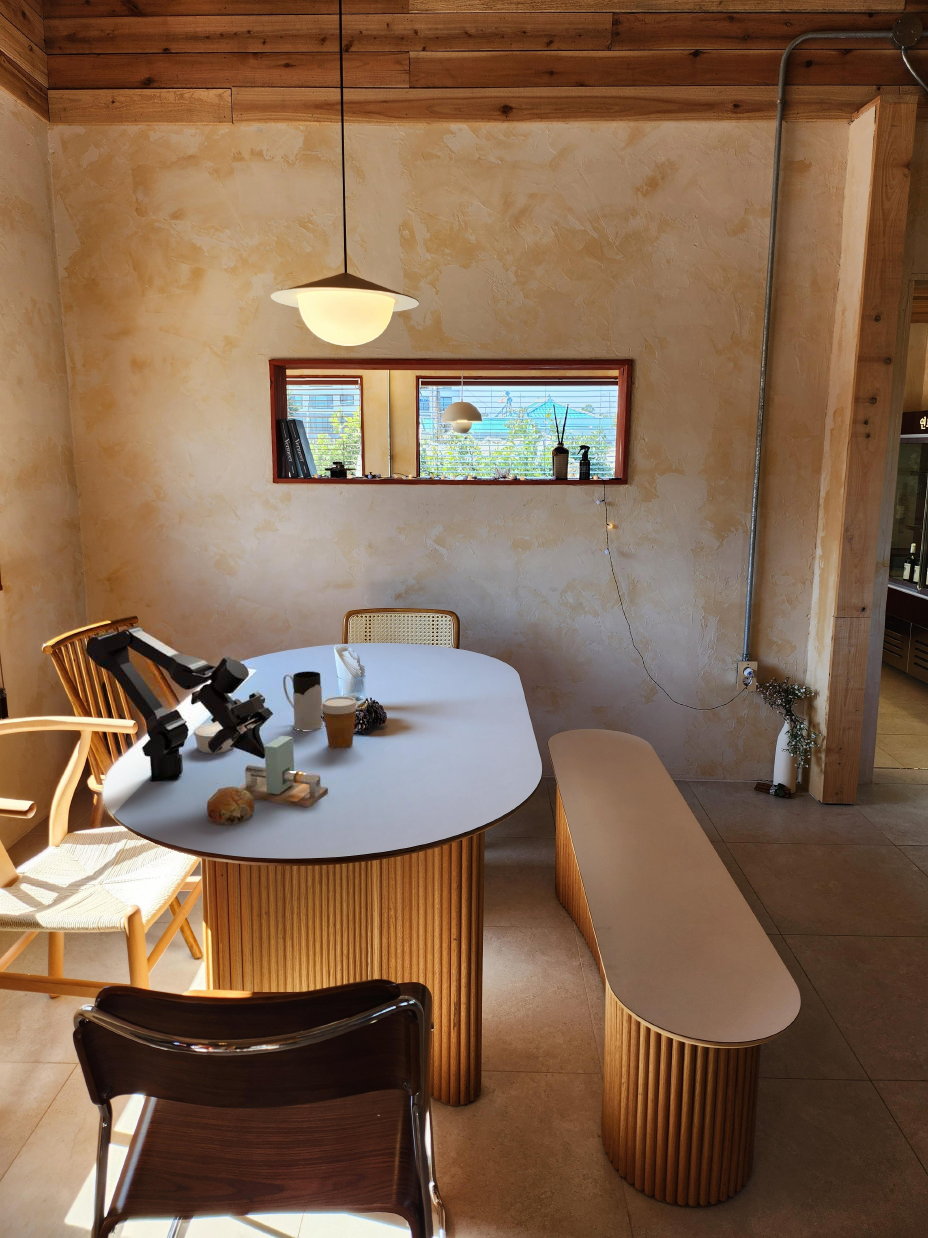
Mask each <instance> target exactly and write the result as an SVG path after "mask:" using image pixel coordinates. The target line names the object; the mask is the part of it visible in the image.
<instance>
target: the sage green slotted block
mask: <svg viewBox="0 0 928 1238" xmlns="http://www.w3.org/2000/svg"><path fill="white" fill-rule="evenodd" d="M264 748H265V758H264V759H265V760H264V763H265V767H266V786H267V793H273V794H280V793H281V792H282V791H284V790H285V789H287V788H288V787H289V786H291V785H292V784H294V782H287V781H283V779H282V772H283V771H284V770H287V771H294V772H295V759H294V756H295V755H294V754H295V753H294V738H293V736H288V735H287V736H286V735H280V736H279V737H276V738H275V739H274V740H272V741H270V742H269V743H267V744H264Z"/></svg>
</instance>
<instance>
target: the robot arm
mask: <svg viewBox="0 0 928 1238" xmlns="http://www.w3.org/2000/svg"><path fill="white" fill-rule="evenodd" d="M129 648H130V649H131V650H133V651H134V652H136V653H137V654H139V655H141V656H143V657H144V658H146V659H147V660H149V661H151V662H153V663H154V664H155V665H157V666H159V667H160V668H162V669H163V670H165V671H166V673H168V675H169V677H170V679H171V680H172V681H173V682H174V683H175V684H176V685H178V687H180V688H181V689H183V690H186V691H188V690H189V691H190V690H193V689H195V688H198V687H200V686H201V687H200V688H199V689H198V690H195V691H192V692H191V700H190V704H191V705H192V706H193V705H195V704H198V703H200V704H202V705H203V707H204V708H205V709H206V710H207V711H208V713H210V715H211V716H212V717H211V719H210V721H211V723H215V722H218V723H219V724H220V725H221V726H222V729H221V730H219V731H218V732H217V733H216V734H215V735H214V736H213V737H212V738H211V739H210V740H209V742H208V748H209V749H210V751H211V752H212V753H211V754H213V755H214V754H217V753H216V752H218V751H220V750H221V749H222V745H223V744H224V742H226V741H228V740H230V739H231V741H232V742H233V744H232V745H231V746H230V747H231V748H232V749H233V748H234V749H237V750H239V751H242V752H246V753H247V754H251V755H253V756H256V757H258V758H259V759H263V760H264V759H265V744H264V743H263V739H262V738H261V737H262V736H261V734H260V729H261V728H262V726H263V725H264V724H265V723H266V722H267V721H268V720H269V719H270V718H271V717H272V716H273V715H274V712H273V711H272V710H271V709H270V708H269V707H265V705H264V704H265V702H266V698H265V697H264V695H262V693H260V692H259V691H258V690H256V691H255V692H252V693H250V694H249V695H248V699H247V700H245V701H243V702H242V701H241V700H240V699H238V698H235V699H233V698H232V697H231V696H230V695H231V694H233V693H235V691H237V690H238V688H240V686H241V685H242V684H243V683H244V682H245V681H246V679H247V678H249V676H250V673H249V672H250V671H249V669H248V667H247V666H246V665H245V664H244V663H242V662H241V661H239V660H237V659H232V658H231V656H230V655H228V656H225V657H222V659H221V660H220V662H219V664H218V665H217V666H216V665H213V664H209V663H208V661H205V660H204V659H201V658H199V657H196V656H194V655H189V654H183V653H180V652H178V651H176V650H175V649H174V648H171V647H170V646H168V645H167V644H165V643H163V642H162V641H160V640H159V639H157V638H155V637H153V636H152V635H150V634H148V633H146V632H145V631H144V629H143V628H141V627H139V626H132V627H129V628H123V629H122V630H121V631H119V632H116V631H110V632H106V633H105V632H104V633H103V634H99V635H95V636H92V637H90V638H89V639H88V640H87V642H86V648H85V652H86V654H87V656H88V658H90V659H91V660H92V661H93V662H94V664H95V665H97V666H98V667H99V668H101V669H104V670H106V671H107V672H109V673H111V675H112V676H113V678H114V679H115V680H116V681H117V684H118V685H119V686H120V687H121V688H122V690H123V691H124V693H125V694H126V695H127V697H128V699H130V701H131V702H132V704H133V705H134V706H135V708H136V709H137V710H138V712H139V713H140V715H141V716H142V717H143V718H144V720H145V725H146V734H147V736H148V738H149V739H148V741H146V742H145V744H144V745H143V746H142V747H141V750H142V753H143V755H144V756H145V757H148V758H149V761H150V763H149V764H150V775H151V776H150V778H149V782H157V781H159V782H160V781H161V782H162V781H172V780H179V779H180V776H181V775H182V773H183V770H184V767H183V766H184V765H183V763H184V762H183V755H182V754H181V753H180V749H181V748H183V747H184V746H185V743H186V740H187V739H188V736H189V732H190V729H189V727H188V725H187V723H188V721H187V720H186V719H184V718H183V717H182V714H181V713H180V711H179V710H178V709H176V708H175V709H173V710H168V709H166V708H165V707H164V705H163V704H162V703H161V701H160V700H159V699H158V698H157V696H156V694H155V693H154V692H153V691H152V689H151V688H150V686H148V683H146V681H145V679H144V678H143V677H142V675H141V674H140V673H139V671H138V670H137V669H136V667H135V666H134V665H133V664H132V662H131V660H130V650H129ZM208 682H209V683H208Z"/></svg>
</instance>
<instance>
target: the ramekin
mask: <svg viewBox="0 0 928 1238" xmlns="http://www.w3.org/2000/svg"><path fill="white" fill-rule="evenodd" d="M221 729H222V726H221V725H220V724H219V723H218V722H215V723H213V722H208V723H203V724H201V725H198V726H196V727H195V728H194V730H193V736H194V738H195V743H196V746H197V749H198V750H199V751H200V752H202V753H205V754H213V753H212V752H211V751H210V749H209V748H208V742H209V740H210V739H211V738H212V737H213V736H214V735H215V734H216V733H217V732H218V731H219V730H221ZM232 744H233V742H232V741H231V739H230V740H228V741H226V742H224V744H223V745H222V749H221V750H220V751H218V752H216V753H215V754H220V753H225V751H226V752H228V750H229V751H231V750H232V749H233V748H231V747H230V746H231V745H232ZM230 749H231V750H230Z"/></svg>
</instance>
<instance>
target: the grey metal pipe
mask: <svg viewBox="0 0 928 1238" xmlns="http://www.w3.org/2000/svg"><path fill="white" fill-rule="evenodd" d="M244 776H245V780H244V781H245V784H246V787H253V786H254V785H256V784H257V777H260V778H266V766H265V767H264V766H259V765H258V766H257V765H253V764H251V765H250V764H247V765H246V766H245V769H244ZM282 779H283V781H287V782H294V783H298V784H307V785H309V794H310V797H317V796H318V795H319V794H320V793H321V787H322V786H321V783H322V782H321V776H320V775H319V774H316V773H315V774H314V773H313V774H312V773H307V772H303V771H295V770H294V771H287V770H284V771H283V772H282Z"/></svg>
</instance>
